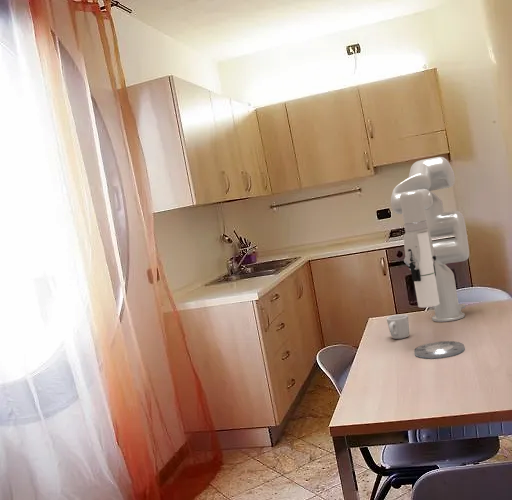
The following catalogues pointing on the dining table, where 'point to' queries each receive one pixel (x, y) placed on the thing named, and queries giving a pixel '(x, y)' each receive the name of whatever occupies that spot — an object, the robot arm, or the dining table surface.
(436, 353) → the flange plate
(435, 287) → the cylindrical container
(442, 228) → the robot arm
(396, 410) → the dining table surface
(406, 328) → the cup
